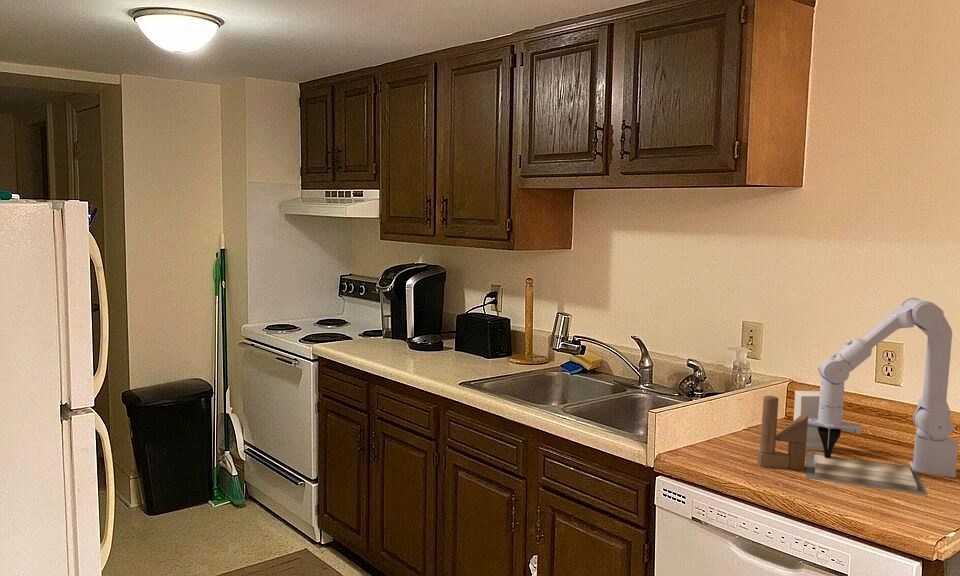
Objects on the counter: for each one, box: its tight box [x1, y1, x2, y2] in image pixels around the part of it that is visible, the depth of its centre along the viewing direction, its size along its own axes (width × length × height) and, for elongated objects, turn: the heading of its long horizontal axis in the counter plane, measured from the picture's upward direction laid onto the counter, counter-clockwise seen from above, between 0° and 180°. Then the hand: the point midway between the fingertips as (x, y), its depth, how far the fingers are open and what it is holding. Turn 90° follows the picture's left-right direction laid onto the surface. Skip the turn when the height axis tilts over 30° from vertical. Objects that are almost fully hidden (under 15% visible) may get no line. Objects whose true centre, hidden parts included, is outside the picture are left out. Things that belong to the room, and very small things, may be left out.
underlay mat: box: [805, 452, 929, 496], centre depth 197 cm, size 26×22×1 cm
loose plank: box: [814, 453, 913, 476], centre depth 200 cm, size 22×8×1 cm, turn 68°
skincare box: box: [793, 390, 830, 452], centre depth 218 cm, size 8×7×16 cm
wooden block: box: [757, 395, 808, 471], centre depth 200 cm, size 4×11×18 cm, turn 82°
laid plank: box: [815, 463, 917, 491], centre depth 192 cm, size 22×8×1 cm, turn 68°
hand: (827, 456), depth 205 cm, fingers closed
